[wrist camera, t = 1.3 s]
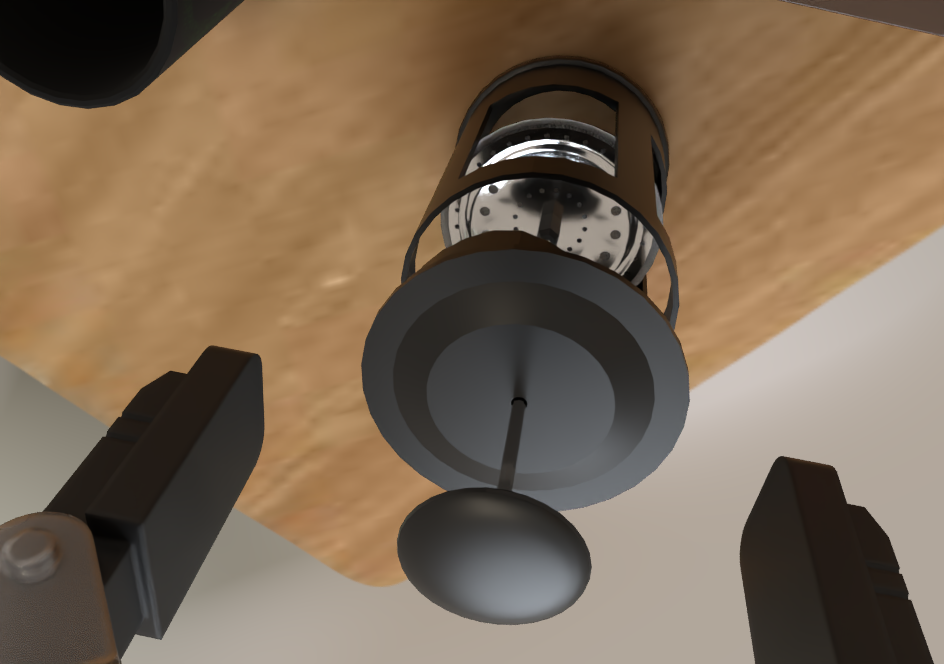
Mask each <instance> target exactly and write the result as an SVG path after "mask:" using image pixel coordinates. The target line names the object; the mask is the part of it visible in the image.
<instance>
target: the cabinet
mask: <svg viewBox="0 0 944 664" xmlns="http://www.w3.org/2000/svg"><path fill="white" fill-rule="evenodd" d="M779 1H784V2H788V3H793V4H797V5H802V6H807V7H811V8H816V9H820V10H825V11H829V12H834V13H838V14H843V15H847V16H852V17H856V18H861V19H865V20H870V21H874V22H879V23H884V24H888V25H893V26H897V27H902V28H906V29H911V30H915V31H920V32H924V33H929V34H933V35H938V36H942V37H944V0H779Z"/></svg>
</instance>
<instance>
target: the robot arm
mask: <svg viewBox="0 0 944 664" xmlns="http://www.w3.org/2000/svg"><path fill="white" fill-rule="evenodd" d="M263 437H264V403H263V377H262V362H261V358H260V356H259V355H258V354H255V353H250V352H244V351H239V350H234V349H229V348H223V347H218V346H209V347H208V348H206V349H205V351H204V352H203V353H202V355H201V356H200V357H199V359H198V360H197V361H196V363H195V364H194V365H193V367H192V368H191V369H190V371H189V372H188V373H187V374H185V373H180V372H174V371H169V372H168V373H166V374H164V375H163V376H161V377H159V378H158V379H156V380H155V381H153V382H151V383H150V384H148V385H146V386H145V387H143V388H142V389H141V390H140V391H139V392H138V393H137V395H136V396H135V397H134V398H133V400H132V401H131V402H130V403H129V405H128V406H127V407H126V408H125V410H124V411H123V412H122V416H121V417H118V418H117V420H116V421H115V422H114V423H113V425H112V426H111V427H110V428H109V430H108V431H107V435H106V437H102V438H101V440H100V441H99V442H98V443H97V445H96V446H95V447H94V448H93V450H92V451H91V452H90V453H89V455H88V456H87V457H86V459H85V460H84V461H83V462H82V463H81V465H80V466H79V467H78V469H77V470H76V471H75V472H74V473H73V475H72V476H71V477H70V479H69V480H68V481H67V482H66V484H65V485H64V486H63V487H62V489H61V490H60V491H59V492H58V493H57V495H56V496H55V497H54V499H53V500H52V501H51V502H50V503H49V505H48V506H47V507H46V508H45V510H44V511H43V512H37V513H32V514H28V515H24V516H21V517H17V518H15V519H12V520H10V521H8V522H6V523H4V524H2V525H0V664H121V658H122V656H123V655H124V653H125V651H126V649H127V648H128V646H129V644H130V642H131V641H132V639H133V637H134V635H135V634H137V635H141V636H146V637H151V638H155V639H160V640H161V639H162V638H163V636H164V634H165V632H166V630H167V628H168V627H169V625H170V623H171V621H172V619H173V617H174V615H175V614H176V612H177V610H178V608H179V606H180V604H181V603H182V601H183V599H184V597H185V595H186V593H187V591H188V590H189V588H190V586H191V584H192V582H193V580H194V578H195V577H196V575H197V573H198V571H199V569H200V567H201V565H202V563H203V562H204V560H205V558H206V556H207V554H208V552H209V551H210V549H211V547H212V545H213V543H214V541H215V540H216V538H217V535H218V534H219V532H220V530H221V528H222V527H223V525H224V523H225V521H226V519H227V517H228V515H229V513H230V512H231V510H232V508H233V506H234V504H235V502H236V501H237V499H238V497H239V495H240V493H241V491H242V489H243V488H244V486H245V484H246V482H247V480H248V478H249V476H250V475H251V473H252V471H253V469H254V467H255V465H256V463H257V460H258V458H259V455H260V451H261V448H262V443H263ZM740 567H741V574H742V580H743V587H744V593H745V599H746V606H747V613H748V619H749V626H750V632H751V639H752V645H753V652H754V658H755V664H934V663H933V660H932V657H931V654H930V652H929V649H928V646H927V643H926V640H925V637H924V635H923V632H922V629H921V626H920V624H919V621H918V618H917V615H916V612H915V609H914V607H913V604H912V601H911V600H908V594H909V593H908V590H907V587H906V584H905V582H904V579H903V576H902V574H899V569H900V568H899V565H898V562H897V559H896V556H895V553H894V551H893V548H892V546H891V542H890V540H889V537H888V536H887V535H886V533H885V532H884V531H883V529H882V528H881V527H880V526H879V524H878V523H877V522H876V521H875V519H874V518H873V517H872V516H871V514H870V513H869V512H868V511H867V510H866V508H865V507H861V506H856V505H851V504H847V502H846V499H845V496H844V492H843V490H842V486H841V483H840V480H839V477H838V474H837V471H836V470H835V468H834V467H833V466H830V465H826V464H821V463H816V462H810V461H805V460H800V459H795V458H789V457H784V456H780V457H778V458H777V459H776V460H775V462H774V463H773V465H772V467H771V469H770V472H769V474H768V476H767V478H766V480H765V483H764V485H763V487H762V489H761V491H760V493H759V496H758V498H757V500H756V502H755V504H754V506H753V508H752V511H751V513H750V515H749V517H748V519H747V522H746V524H745V527H744V530H743V534H742V538H741V546H740Z"/></svg>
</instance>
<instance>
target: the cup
mask: <svg viewBox="0 0 944 664" xmlns="http://www.w3.org/2000/svg"><path fill="white" fill-rule="evenodd" d="M243 1H244V0H0V75H1V76H2V77H3V78H5V79H7V80H8V81H10V82H11V83H13V84H15V85H16V86H18V87H20V88H21V89H23V90H25V91H26V92H28V93H30V94H32V95H34V96H37V97H40V98H42V99H45V100H48V101H50V102H53V103H56V104H59V105H64V106H71V107H79V108H86V109H91V108H98V107H106V106H114V105H117V104H119V103H121V102H123V101H126V100H128V99H130V98H132V97H134V96H137V95H139V94H140V93H141V92H142V91H143V90H144V89H145V88H146V87H147V86H149V85H150V84H151V83H152V82H153V81H154V80H155V79H156V78H158V77H159V76H160V75H161V74H162V73H163V72H164V71H165V70H167V69H168V68H169V67H170V66H171V65H172V64H173V63H174V62H176V61H177V60H178V59H179V58H180V57H181V56H182V55H183V54H184V53H186V52H187V51H188V50H189V49H190V48H191V47H192V46H193V45H195V44H196V43H197V42H198V41H199V40H200V39H201V38H202V37H204V36H205V35H206V34H207V33H208V32H209V31H210V30H211V29H213V28H214V27H215V26H216V25H217V24H218V23H219V22H220V21H221V20H223V19H224V18H225V17H226V16H227V15H228V14H229V13H230V12H232V11H233V10H234V9H235V8H236V7H237V6H238V5H239V4H241V3H242V2H243Z"/></svg>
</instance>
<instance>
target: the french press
mask: <svg viewBox="0 0 944 664" xmlns="http://www.w3.org/2000/svg"><path fill="white" fill-rule="evenodd" d="M550 91H572V92H577V93H581V94H585V95H588V96H591V97H593V98H595V99H597V100H599V101H601V102H603V103H605V104H606V105H607V106H609V107H610V108H611V109H612V110H614V111H615V112H616V128H615V136H614V135H612V134H610V133H608V132H607V131H605V130H602V129H600V128H597V127H595V126H593V125H590V124H586V123H582V122H578V121H574V120H570V119H556V118H541V119H533V120H524V121H521V122H518V123H515V124H511V125H508V126H505V127H502V128H500V129H498V130H497V131H495V132H493V133H491V134H490V135H489V133H490V131H491V129H492V127H493V126H494V125H495V123H496V122H497V121H498V119H499V118H500V117H501V115H503V114H504V113H505V112H506V111H507V110H508V109H509V108H511V107H512V106H513V105H515V104H516V103H518V102H520V101H522V100H523V99H525V98H527V97H530V96H533V95H536V94H539V93H542V92H550ZM668 170H669V149H668V141H667V137H666V133H665V129H664V125H663V122H662V120H661V118H660V116H659V114H658V112H657V110H656V108H655V106H654V104H653V103H652V102H651V101H650V99H649V98H648V97H647V96H646V94H645V93H644V92H643V91H642V89H641V88H640V87H639V86H638V85H636V84H635V83H634V82H633V81H631V80H630V79H629V78H628V77H626V76H625V75H624V74H623V73H621V72H619V71H617V70H615V69H613V68H611V67H609V66H607V65H605V64H603V63H600V62H596V61H592V60H589V59H585V58H581V57H568V56H554V57H546V58H539V59H534V60H532V61H529V62H526V63H523V64H520V65H517V66H515V67H513V68H511V69H510V70H508V71H506V72H505V73H503V74H501V75H500V76H498V77H496V78H495V79H494V80H493V81H492V82H491V83H490V84H489V85H488V86H486V87H485V88H484V89H483V90H482V91H481V92H480V94H479V95H478V96H477V98H476V99H475V100H474V102H473V103H472V105H471V106H470V107H469V109H468V111H467V113H466V115H465V118H464V120H463V122H462V124H461V127H460V129H459V133H458V138H457V142H456V147H455V151H454V153H453V155H452V157H451V159H450V161H449V163H448V165H447V168H446V170H445V172H444V174H443V176H442V178H441V180H440V182H439V184H438V187H437V189H436V191H435V193H434V195H433V197H432V199H431V201H430V204H429V206H428V208H427V210H426V212H425V214H424V216H423V218H422V220H421V223H420V225H419V227H418V229H417V231H416V233H415V235H414V238H413V240H412V242H411V244H410V246H409V249H408V251H407V253H406V256H405V261H404V266H403V271H402V276H401V285H400V286H398V287H397V288H396V289H395V290H394V292H393V293H392V294H391V296H390V297H389V298H388V299H387V301H386V302H385V303H384V305H383V306H382V307H381V308H380V310H379V311H378V314H377V316H376V318H375V320H374V322H373V325H372V327H371V329H370V331H369V333H368V336H367V338H366V341H365V347H364V352H363V358H362V364H361V366H362V382H363V391H364V394H365V398H366V401H367V404H368V407H369V411H370V414H371V416H372V418H373V419H374V421H375V423H376V425H377V427H378V428H379V430H380V432H381V434H382V436H383V437H384V438H385V440H386V441H387V442H388V443H389V444H390V446H391V447H392V448H393V449H394V451H395V452H396V453H397V454H398V455H399V457H400V458H402V459H403V460H404V461H405V462H406V463H407V464H409V465H410V466H411V467H412V468H413V469H414V470H416V471H417V472H418V473H419V474H420V475H422V476H423V477H425V478H427V479H428V480H430V481H431V482H433V483H435V484H436V485H438V486H440V487H441V488H443V489H444V490H447V492H444V493H442V494H439V495H436V496H433V497H431V498H430V499H428V500H426V501H425V502H423V503H421V504H420V505H418V506H417V507H416V508H415V509H414V510H413V511H412V512H410V513H409V514H408V515H407V517H406V518H405V520H404V522H403V523H402V525H401V527H400V530H399V534H398V538H397V552H398V557H399V560H400V563H401V566H402V569H403V571H404V572H405V574H406V576H407V578H408V579H409V581H410V582H411V583H412V584H413V585H414V586H415V587H416V589H417V590H418V591H419V592H420V593H421V594H423V595H424V596H425V597H427V598H428V599H429V600H430V601H432V602H433V603H435V604H437V605H438V606H440V607H442V608H443V609H445V610H447V611H449V612H452V613H454V614H457V615H459V616H461V617H464V618H468V619H471V620H475V621H479V622H485V623H492V624H503V625H518V624H527V623H534V622H538V621H541V620H545V619H548V618H551V617H553V616H555V615H557V614H560V613H562V612H563V611H565V610H566V609H567V608H569V607H570V606H572V605H573V604H574V603H575V602H576V601H577V600H578V598H579V597H580V596H581V595H582V594H583V592H584V590H585V588H586V586H587V584H588V582H589V580H590V574H591V568H592V566H591V559H590V553H589V550H588V548H587V546H586V543H585V541H584V539H583V538H582V536H581V535H580V534H579V532H578V531H577V529H576V528H575V527H574V526H573V525H572V524H571V523H570V522H569V521H568V520H567V519H566V518H565V517H564V516H563V515H561V514H560V513H559V512H558V511H564V510H571V509H577V508H583V507H587V506H590V505H593V504H596V503H599V502H602V501H606V500H609V499H611V498H613V497H615V496H617V495H619V494H621V493H623V492H624V491H627V490H629V489H631V488H632V487H634V486H636V485H637V484H638V483H640V482H641V481H642V480H643V479H645V478H646V477H647V476H648V475H650V474H651V473H652V472H654V471H655V470H656V469H657V468H658V466H659V465H660V464H661V463H662V461H663V460H664V459H665V458H666V457H667V456H668V454H669V453H670V452H671V451H672V449H673V448H674V446H675V443H676V442H677V439H678V437H679V435H680V434H681V432H682V429H683V427H684V424H685V420H686V415H687V411H688V406H689V402H690V399H689V374H688V367H687V364H686V360H685V357H684V353H683V350H682V347H681V343H680V341H679V339H678V337H677V335H676V334H675V332H674V329H675V324H676V319H677V313H678V308H679V291H678V276H677V267H676V260H675V256H674V253H673V249H672V245H671V242H670V238H669V236H668V234H667V232H666V230H665V229H664V227H663V213H664V207H665V201H666V195H667V185H666V181H667V176H668ZM439 213H441V229H442V234H443V239H444V243H445V247H446V249H444V250H442V251H441V252H440V253H438V254H437V255H436V256H435V257H433V258H432V259H431V260H430V261H429V262H427V263H426V264H425V265H424V266H423V267H422V268H421V269H420V270H418V271H417V272H416V273H415V258H416V253H417V248H418V243H419V238H420V236H421V235H422V234H423V232H424V231H425V230H426V228H427V227H428V226H429V224H430V223H431V222H432V221H433V219H434V218H435V217H436V216H437V215H438V214H439ZM659 248H660V250H661V252H662V254H663V255H664V257H665V259H666V263H667V266H668V270H669V273H670V277H671V288H670V293H669V298H668V304H667V308H666V310H665V312H664V314H663V313H662V312H661V310H660V309H659V308H658V307H657V306H656V305H655V304H654V303H653V302H652V301H651V299H650V298H649V297H648V296H647V278H646V273H647V272H648V270H649V269H650V267H651V266H652V264H653V262H654V259H655V257H656V254H657V252H658V250H659Z"/></svg>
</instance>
